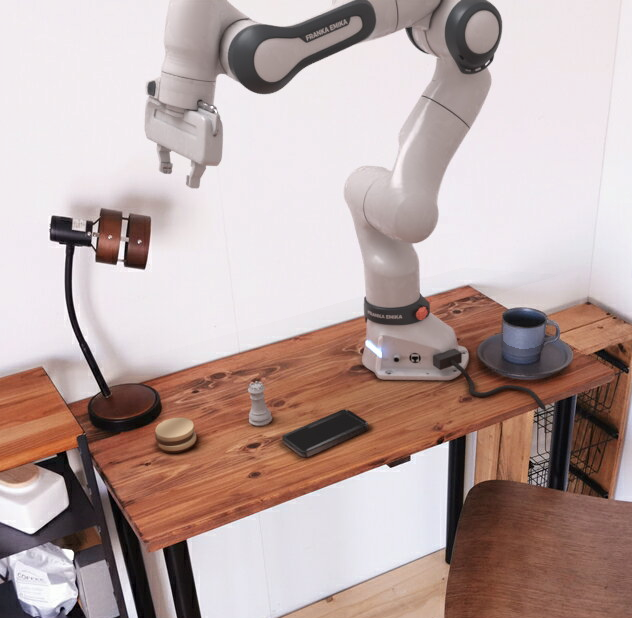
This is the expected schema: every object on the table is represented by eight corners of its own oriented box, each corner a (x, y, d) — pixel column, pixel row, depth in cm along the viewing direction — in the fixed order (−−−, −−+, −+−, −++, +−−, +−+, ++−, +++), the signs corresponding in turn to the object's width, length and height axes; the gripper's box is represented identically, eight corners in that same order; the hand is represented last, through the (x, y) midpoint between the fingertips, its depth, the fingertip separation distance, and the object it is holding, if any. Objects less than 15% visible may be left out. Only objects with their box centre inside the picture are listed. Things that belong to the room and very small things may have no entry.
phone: (370, 423, 169) (303, 453, 161) (370, 429, 169) (304, 458, 162) (345, 407, 174) (279, 435, 167) (345, 412, 175) (280, 440, 167)
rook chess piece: (268, 428, 172) (263, 391, 167) (246, 426, 172) (240, 389, 168) (275, 415, 175) (270, 379, 171) (253, 414, 176) (248, 378, 172)
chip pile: (204, 435, 170) (202, 419, 169) (186, 457, 165) (183, 440, 163) (169, 430, 173) (165, 414, 171) (149, 452, 167) (145, 435, 165)
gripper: (237, 109, 144) (226, 197, 150) (174, 84, 157) (166, 166, 163) (202, 106, 140) (192, 196, 146) (140, 80, 153) (134, 164, 159)
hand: (178, 180), depth 155 cm, fingers open, 8 cm apart
